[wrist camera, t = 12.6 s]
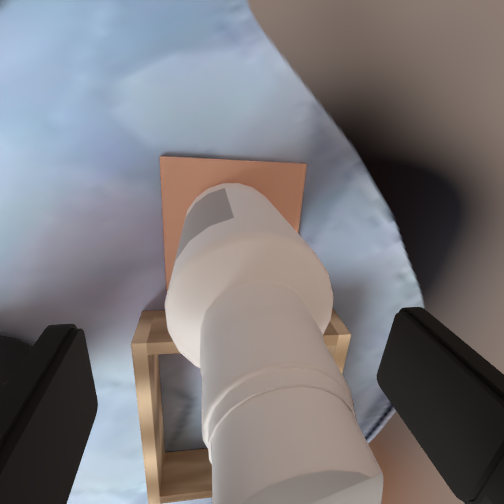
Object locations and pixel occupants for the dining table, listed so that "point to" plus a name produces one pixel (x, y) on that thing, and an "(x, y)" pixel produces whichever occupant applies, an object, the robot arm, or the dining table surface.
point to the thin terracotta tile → (217, 172)
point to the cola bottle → (11, 356)
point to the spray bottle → (265, 357)
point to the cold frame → (151, 418)
